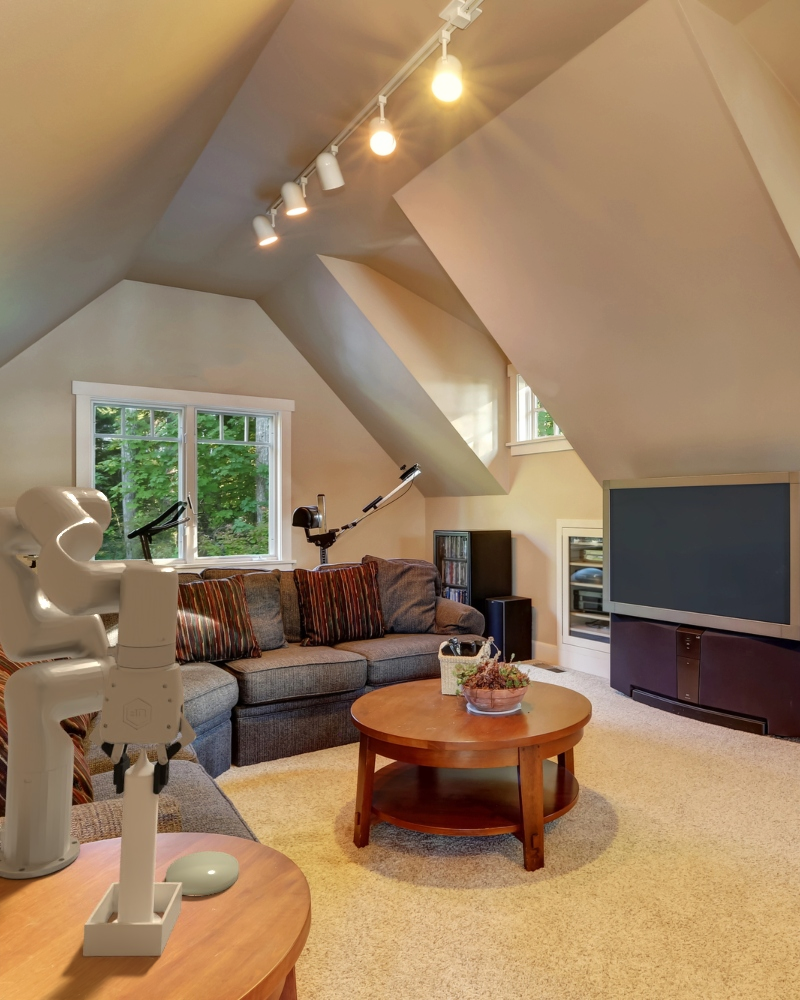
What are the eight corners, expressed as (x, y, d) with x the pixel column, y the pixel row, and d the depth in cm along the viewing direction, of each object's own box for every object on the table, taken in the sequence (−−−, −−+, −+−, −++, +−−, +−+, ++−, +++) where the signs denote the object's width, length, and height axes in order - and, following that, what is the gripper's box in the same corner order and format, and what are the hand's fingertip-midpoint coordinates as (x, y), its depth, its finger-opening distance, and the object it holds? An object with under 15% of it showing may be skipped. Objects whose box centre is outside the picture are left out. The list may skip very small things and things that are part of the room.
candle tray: (82, 956, 85) (84, 924, 86) (111, 910, 95) (112, 882, 95) (160, 955, 86) (162, 924, 86) (181, 910, 96) (182, 882, 96)
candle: (143, 953, 86) (152, 758, 87) (94, 943, 88) (103, 752, 88) (172, 920, 93) (180, 741, 94) (127, 912, 95) (135, 735, 95)
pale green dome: (149, 885, 102) (150, 877, 102) (198, 852, 112) (198, 845, 112) (207, 904, 98) (208, 896, 98) (252, 868, 108) (253, 861, 108)
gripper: (71, 660, 87) (65, 801, 87) (202, 663, 88) (196, 802, 88) (94, 648, 95) (88, 778, 94) (214, 651, 96) (209, 779, 95)
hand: (140, 788), depth 91 cm, fingers closed on candle, 4 cm apart
